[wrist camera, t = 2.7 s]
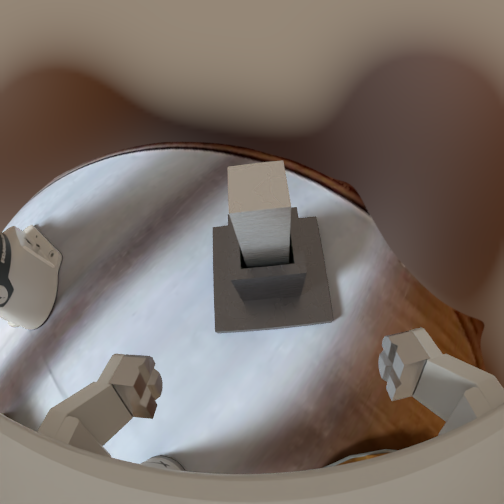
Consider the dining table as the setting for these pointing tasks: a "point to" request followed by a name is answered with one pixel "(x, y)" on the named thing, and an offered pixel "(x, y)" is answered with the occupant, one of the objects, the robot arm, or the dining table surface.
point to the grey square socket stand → (270, 283)
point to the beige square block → (260, 212)
